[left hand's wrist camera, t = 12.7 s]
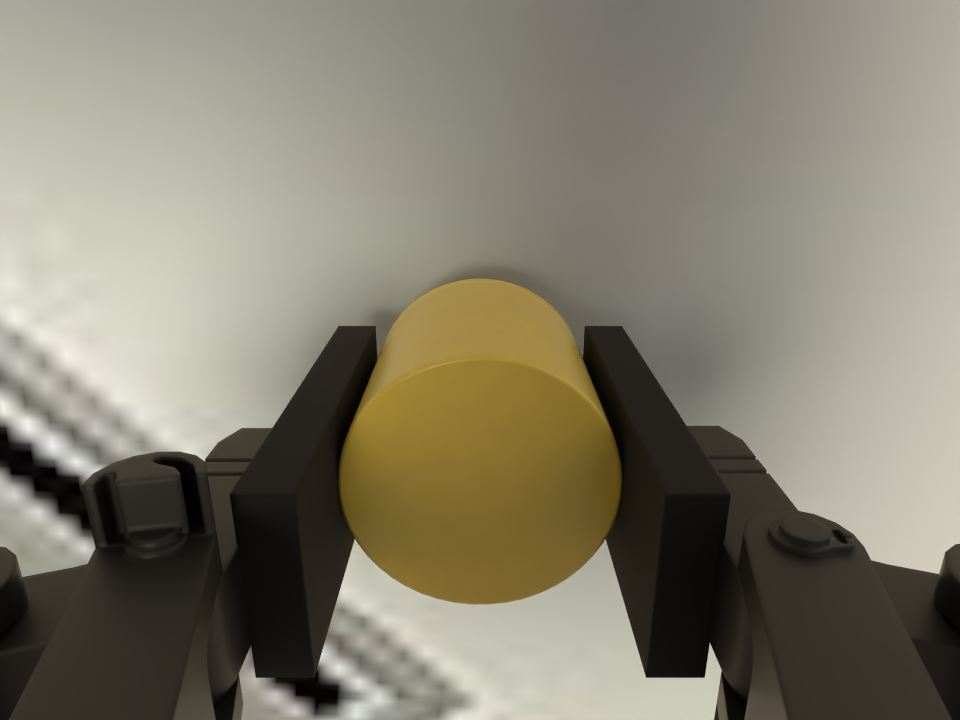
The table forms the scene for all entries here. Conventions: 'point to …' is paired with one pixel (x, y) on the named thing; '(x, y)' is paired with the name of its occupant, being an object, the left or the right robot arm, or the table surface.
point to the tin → (480, 449)
